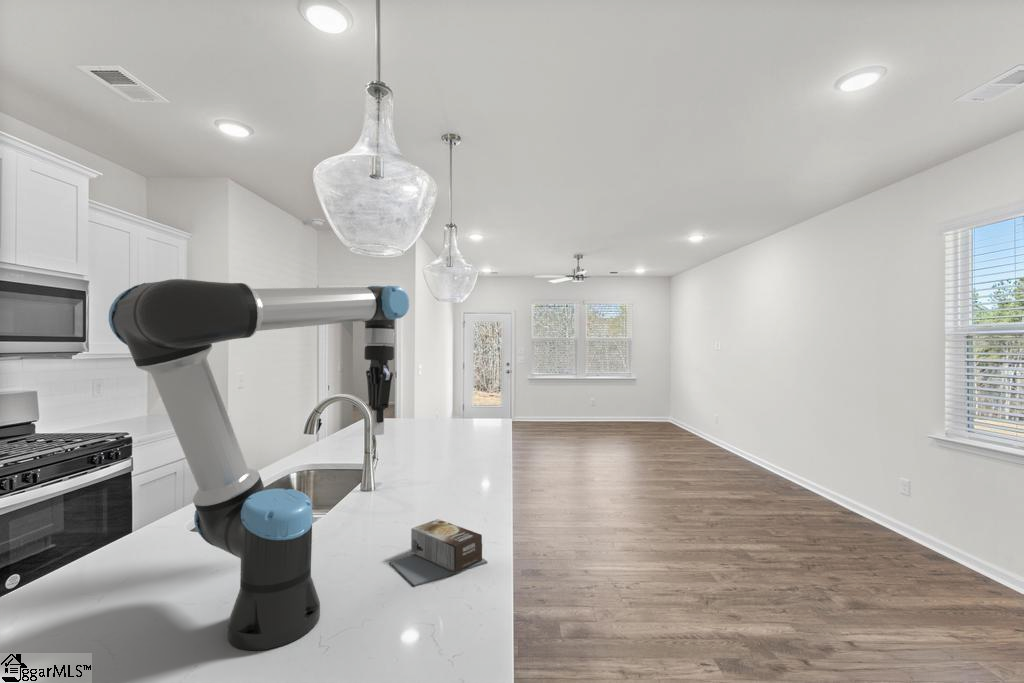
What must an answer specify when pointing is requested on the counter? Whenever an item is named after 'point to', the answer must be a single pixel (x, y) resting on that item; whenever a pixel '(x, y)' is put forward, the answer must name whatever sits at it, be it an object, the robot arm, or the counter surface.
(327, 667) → the counter surface
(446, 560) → the coffee box
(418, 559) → the mat
